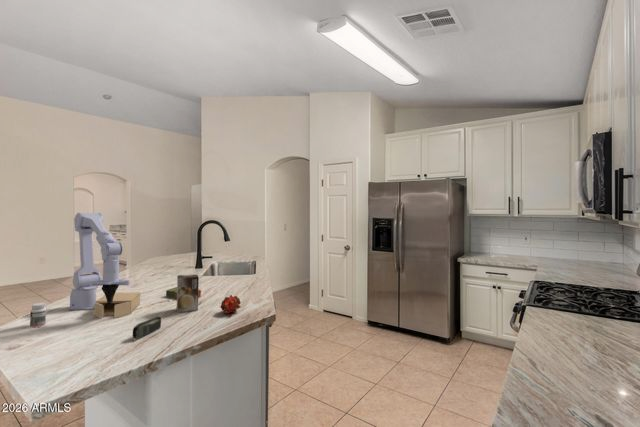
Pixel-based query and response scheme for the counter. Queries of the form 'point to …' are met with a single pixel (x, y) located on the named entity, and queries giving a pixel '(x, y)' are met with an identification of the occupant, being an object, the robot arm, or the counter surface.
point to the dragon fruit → (230, 304)
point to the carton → (173, 293)
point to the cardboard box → (120, 301)
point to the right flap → (122, 309)
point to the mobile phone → (146, 327)
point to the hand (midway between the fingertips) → (109, 302)
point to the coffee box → (187, 292)
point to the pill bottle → (38, 315)
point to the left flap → (99, 310)
